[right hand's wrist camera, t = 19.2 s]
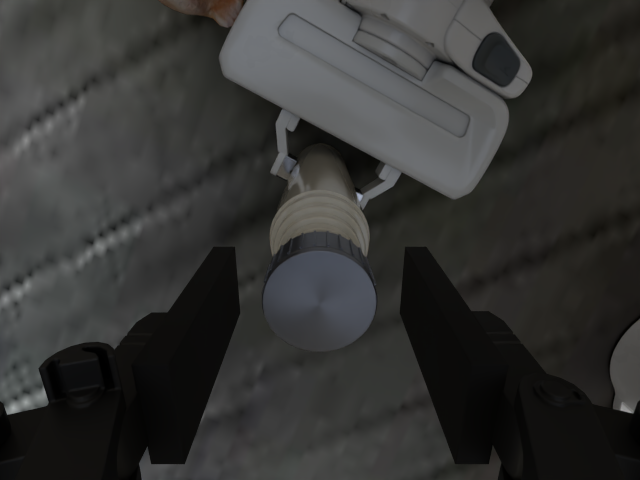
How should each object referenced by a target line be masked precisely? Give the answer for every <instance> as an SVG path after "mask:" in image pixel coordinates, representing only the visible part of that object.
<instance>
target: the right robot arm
mask: <svg viewBox="0 0 640 480" xmlns="http://www.w3.org/2000/svg"><path fill="white" fill-rule="evenodd" d="M239 315H240V305H239V292H238V280H237V268H236V255H235V247H213V249H212V250H211V252H210V253H209V254H208V256H207V257H206V259H205V260H204V262H203V263H202V264H201V266H200V267H199V269H198V270H197V272H196V273H195V274H194V276H193V277H192V279H191V280H190V282H189V283H188V284H187V286H186V287H185V289H184V290H183V292H182V293H181V294H180V296H179V297H178V299H177V300H176V301H175V303H174V304H173V306H172V307H171V309H170V310H169V311H168V313H150V314H149V315H147V316H146V317H144V318H142V319H141V320H139V321H138V322H136V324H135V325H134V326H133V327H132V329H131V330H130V331H129V332H128V335H127V336H125V337H124V339H123V340H122V341H121V342H120V345H118V346H117V347H116V348H115V350H114V348H112V347H111V346H110V345H109V344H106V343H101V342H89V343H82V344H78V345H74V346H71V347H68V348H66V349H64V350H61V351H59V352H57V353H55V354H54V355H52V356H51V357H49V358H48V359H47V360H45V361H44V363H43V364H42V365H41V366H40V367H39V372H40V375H41V378H42V381H43V385H44V388H45V391H46V395H47V398H48V401H49V403H48V406H45V407H42V408H37V409H33V410H28V411H24V412H19V413H15V414H10V415H7V413H6V411H5V408H4V405H3V403H1V402H0V480H142V479H141V472H140V467H139V462H140V460H141V458H142V456H143V454H144V452H145V450H146V448H147V446H148V450H149V455H150V460H151V464H185V462H186V459H187V456H188V454H189V451H190V448H191V445H192V443H193V440H194V437H195V435H196V432H197V429H198V426H199V424H200V421H201V418H202V416H203V413H204V410H205V407H206V405H207V402H208V399H209V396H210V394H211V391H212V388H213V386H214V383H215V380H216V377H217V375H218V372H219V369H220V366H221V364H222V361H223V358H224V356H225V353H226V350H227V347H228V345H229V342H230V339H231V337H232V334H233V331H234V328H235V326H236V323H237V320H238V317H239ZM400 315H401V317H402V320H403V323H404V326H405V328H406V331H407V334H408V337H409V339H410V342H411V345H412V347H413V350H414V353H415V356H416V358H417V361H418V364H419V366H420V369H421V372H422V375H423V377H424V380H425V383H426V386H427V388H428V391H429V394H430V396H431V399H432V402H433V405H434V407H435V410H436V413H437V416H438V418H439V421H440V424H441V426H442V429H443V432H444V435H445V437H446V440H447V443H448V445H449V448H450V451H451V454H452V456H453V459H454V462H455V464H489V460H490V455H491V450H492V445H493V446H494V448H495V450H496V452H497V454H498V456H499V458H500V460H501V467H500V471H499V476H498V480H640V400H639V401H638V402H637V405H636V408H635V411H634V413H629V412H624V411H620V410H615V409H611V408H606V407H601V406H598V405H594V404H592V403H591V401H590V400H589V398H588V397H587V396H586V394H585V393H584V392H583V391H581V390H580V389H579V388H578V387H576V386H575V385H574V384H572V383H570V382H568V381H566V380H564V379H562V378H559V377H555V376H552V375H548V374H546V372H545V371H544V370H543V369H542V368H541V366H540V365H539V364H538V363H537V361H536V360H535V359H534V358H533V356H532V355H531V354H530V353H529V352H528V350H527V349H526V348H525V347H524V345H523V344H521V343H520V341H519V339H518V338H517V337H516V336H515V334H513V332H512V331H511V329H510V328H509V327H508V326H507V325H506V323H505V322H504V321H503V320H501V319H500V318H498V317H497V316H495V315H494V314H492V313H490V312H489V311H471V310H470V309H469V307H468V306H467V304H466V303H465V301H464V300H463V299H462V297H461V296H460V294H459V293H458V292H457V290H456V289H455V287H454V286H453V284H452V283H451V282H450V280H449V279H448V277H447V276H446V274H445V273H444V272H443V270H442V269H441V267H440V266H439V264H438V263H437V262H436V260H435V259H434V257H433V256H432V254H431V253H430V252H429V250H428V249H427V247H405V255H404V268H403V280H402V292H401V305H400Z"/></svg>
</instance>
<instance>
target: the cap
mask: <svg viewBox="0 0 640 480" xmlns="http://www.w3.org/2000/svg"><path fill="white" fill-rule="evenodd" d="M375 286H376V283H375V279H374V276H373V272H372V269H371V267H370V265H369V262H368V258H367V256H366V257H365V256H364V254H363V253H362V251H361V248H360V247H359V248H358V247H357V246H356V245H355V244H354V243H352V240H351V239H350V240H348V239H346V238H344V237H342V236H341V234H339V235H337V234H334V233H330V232H329V231H326V232H316V230H315V231H314V232H310V233H305V234H304V233H301V235H299V236H297V237H295V238H290V240H289V241H288V242H287V243H285V244H284V245H281V246H280V249H279V250H278V252H277V253H276V254H274V255H273V258H272V261H271V264H269V266H268V269H267V273H266V276H265V279H264V287H263V290H262V308H263V312H264V316H265V318H266V321H267V323H268V324H269V326H270V328H271V329H272V330H273V332H274V333H275V334H276V335H277V336H278V337H279V338H281V339H282V340H283V341H285V342H286V343H288V344H290V345H292V346H294V347H296V348H299V349H302V350H306V351H313V352H327V351H333V350H337V349H340V348H343V347H345V346H347V345H349V344H351V343H353V342H354V341H356V340H357V339H358V338H360V337H361V336H362V335H363V334H364V333H365V332H366V330H367V329H368V328H369V326H370V325H371V323H372V321H373V319H374V316H375V313H376V308H377V293H376V289H375Z"/></svg>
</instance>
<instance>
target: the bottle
mask: <svg viewBox="0 0 640 480" xmlns="http://www.w3.org/2000/svg"><path fill="white" fill-rule="evenodd" d="M297 157H298V160H297V163H296V165H295V167H294V168H293V170H292V171H291V174H290V176H289V179H288V182H287V184H286V187H285V190H284V192H283V195H282V197H281V200H280V203H279V205H278V208H277V211H276V213H275V216H274V219H273V221H272V225H271V229H270V246H271V252H272V256H273V255H274V254H276V253H277V252H278V250H279V249H280V246H281V245H284V244H285V243H287V242H288V241H289V240H290V238H295V237H297V236H299V235H301V233H304V234H305V233H310V232H314V231H315V230H316V232H326V231H329V232H330V233H334V234H337V235H339V234H341V236H342V237H344V238H346V239H348V240H350V239H351V240H352V243H354V244H355V245H356V246H357V247H358V248H359V247H360V248H361V251H362V253H363V254H364V256H365V257H366V256H367V254H368V249H369V241H370V233H369V227H368V223H367V220H366V218H365V215H364V212H363V209H362V207H361V204H360V201H359V199H358V196H357V193H356V191H355V188H354V185H353V183H352V180H351V177H350V174H349V172H348V169H347V166H346V164H345V161H344V159H343V157H342V155H341V154H340V152H339V151H338V150H337V149H335V148H334V147H332V146H330V145H327V144H321V143H319V144H313V145H310V146H308V147H306V148H305V149H303V150H302V151H301V152H300V153H299V155H298V156H297Z"/></svg>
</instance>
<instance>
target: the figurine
mask: <svg viewBox="0 0 640 480" xmlns="http://www.w3.org/2000/svg"><path fill="white" fill-rule="evenodd" d="M159 1H160V2H161V3H162V4H164V5H165V6H167V7H169V8H171V9H173V10H175V11H178V12H180V13H183V14H189V15H200V16H207V17H210V18H213V19H214V20H215V21H216V22H217V23H218V24H219V25H220V26H223V27H226V28H228V27H230V26H233V24H234V22H235V20H236V18H237V16H238V15H239V13H240V11H241V9H242V7H243V2H244V0H159Z"/></svg>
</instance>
